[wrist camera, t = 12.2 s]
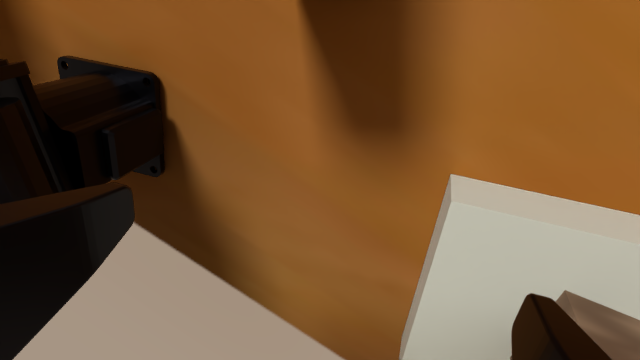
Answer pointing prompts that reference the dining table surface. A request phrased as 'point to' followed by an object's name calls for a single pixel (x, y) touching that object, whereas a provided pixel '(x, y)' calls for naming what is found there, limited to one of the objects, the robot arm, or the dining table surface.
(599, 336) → the walnut block
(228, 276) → the dining table surface
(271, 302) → the dining table surface
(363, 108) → the dining table surface
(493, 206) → the sage base
